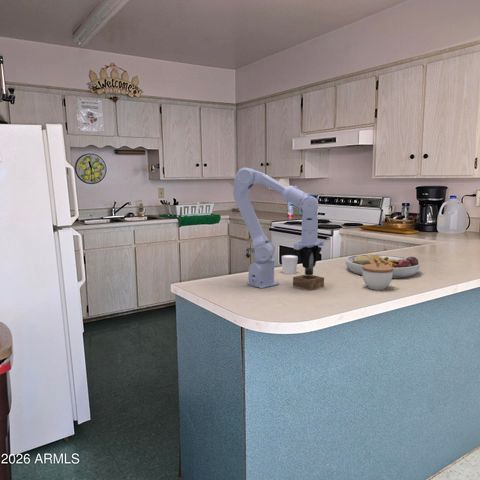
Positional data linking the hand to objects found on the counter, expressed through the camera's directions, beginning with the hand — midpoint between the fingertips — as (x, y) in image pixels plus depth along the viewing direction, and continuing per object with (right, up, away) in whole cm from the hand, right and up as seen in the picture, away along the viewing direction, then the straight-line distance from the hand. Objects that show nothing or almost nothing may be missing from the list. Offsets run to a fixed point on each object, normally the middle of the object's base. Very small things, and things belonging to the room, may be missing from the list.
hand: (308, 266), depth 152 cm
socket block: (0, -7, +1) cm, 7 cm away
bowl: (+36, -4, +26) cm, 45 cm away
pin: (0, -3, 0) cm, 3 cm away
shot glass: (-4, -4, +25) cm, 25 cm away
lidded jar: (+25, -8, -1) cm, 26 cm away
